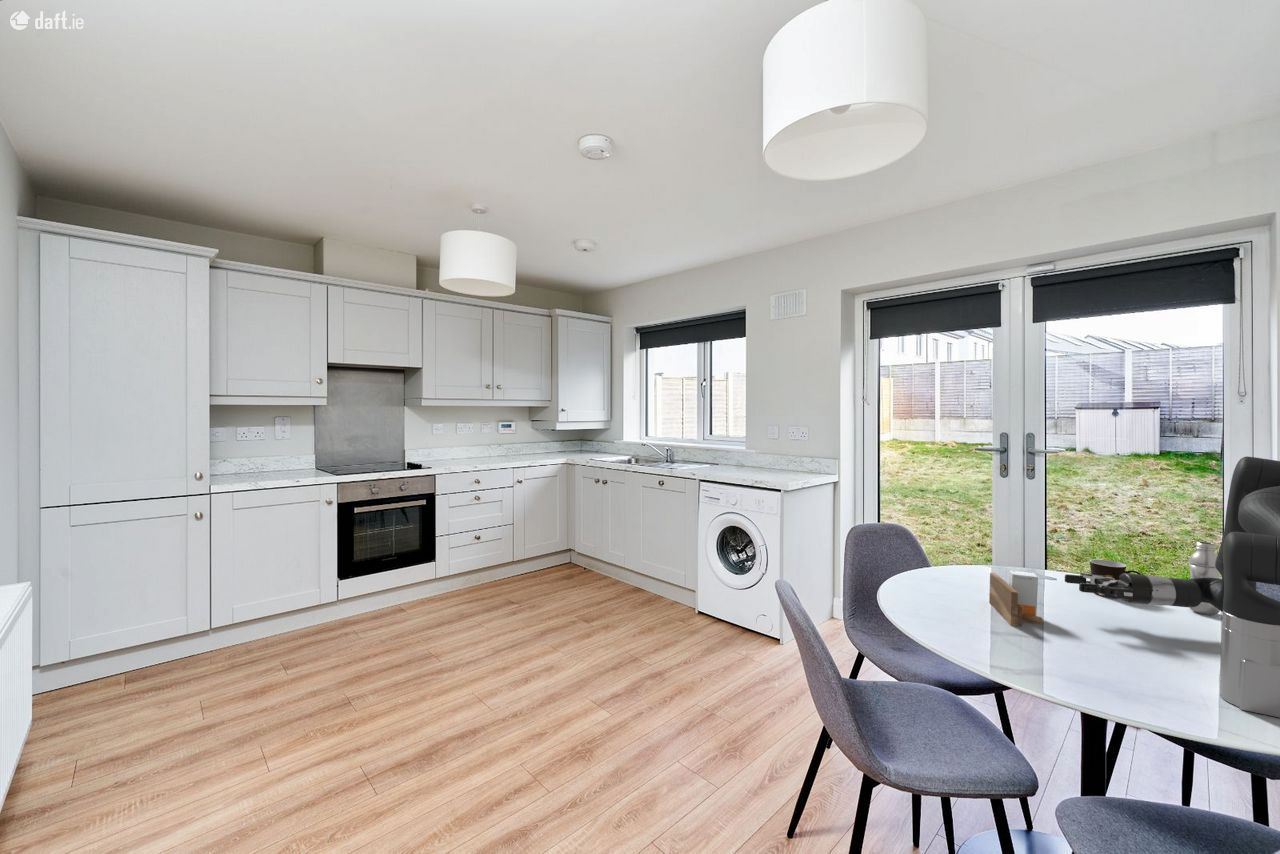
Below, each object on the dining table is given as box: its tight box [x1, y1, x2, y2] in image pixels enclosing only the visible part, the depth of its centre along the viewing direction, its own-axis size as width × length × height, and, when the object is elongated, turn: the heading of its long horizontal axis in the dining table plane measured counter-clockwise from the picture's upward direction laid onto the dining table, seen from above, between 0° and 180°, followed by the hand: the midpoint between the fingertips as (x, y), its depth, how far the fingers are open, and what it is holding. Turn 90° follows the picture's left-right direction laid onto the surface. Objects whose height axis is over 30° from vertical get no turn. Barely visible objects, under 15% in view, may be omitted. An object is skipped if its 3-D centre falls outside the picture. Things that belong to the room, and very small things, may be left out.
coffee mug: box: [1089, 558, 1141, 600], centre depth 167 cm, size 12×9×10 cm
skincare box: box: [1008, 570, 1039, 616], centre depth 151 cm, size 6×4×12 cm
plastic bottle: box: [1187, 541, 1221, 616], centre depth 153 cm, size 6×7×20 cm
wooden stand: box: [988, 572, 1043, 627], centre depth 151 cm, size 8×18×9 cm, turn 163°
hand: (1072, 582), depth 147 cm, fingers open, 8 cm apart
